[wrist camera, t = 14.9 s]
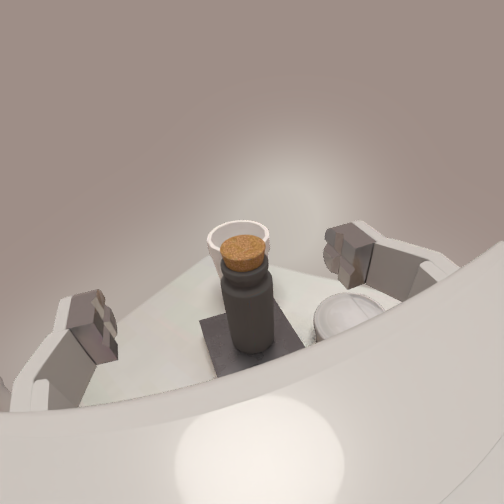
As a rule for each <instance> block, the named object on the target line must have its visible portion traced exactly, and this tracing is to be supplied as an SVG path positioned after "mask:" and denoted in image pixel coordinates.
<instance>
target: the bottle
mask: <svg viewBox="0 0 504 504" xmlns="http://www.w3.org/2000/svg"><path fill="white" fill-rule="evenodd" d="M265 248H266V245H265V242H264V241H263V240H262V239H261V238H259V237H257V236H254V235H237V236H234V237H231V238H229V239H227V240H225V241H224V242H223V243H222V244H221V247H220V253H221V255H222V257H223V258H222V259H221V263H220V266H221V271H222V274H223V276H222V279H221V289H222V295H223V300H224V305H225V310H226V315H227V320H228V324H229V329H230V334H231V338H232V342H233V344H234V346H235V347H236V348H237V349H238V350H240V351H241V352H244V353H248V354H255V353H260V352H263V351H265V350H266V349H268V348H269V347H270V346H271V344H272V343H273V340H274V307H273V283H272V276H271V274H270V272H269V271H268V258H267V255H266V254H265Z"/></svg>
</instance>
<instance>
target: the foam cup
mask: <svg viewBox="0 0 504 504" xmlns="http://www.w3.org/2000/svg"><path fill="white" fill-rule="evenodd" d="M237 235H254V236H257V237H259V238H261V239H262V240H263V241H264V242H265V245H266V248H265V254H266V255H267V258H268V252H269V250H270V245H269V231H268V229H267V228H266V227H265V226H264V225H263V224H261V223H258V222H255V221H250V220H237V221H232V222H227V223H224V224H222V225H219V226H217V227H215V228H214V229H213V230H212V231H211V232H210V233H209V234H208V238H207V244H208V249H209V254H210V255H211V257H212V259H213V261H214V264H215V267H216V270H217V272H218V275H219V278H220V281H221V279H222V276H223V274H222V271H221V266H220V263H221V259H222V258H223V257H222V255H221V253H220V247H221V244H222V243H223V242H224V241H225V240H227V239H229V238H231V237H234V236H237Z"/></svg>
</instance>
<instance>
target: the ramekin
mask: <svg viewBox="0 0 504 504" xmlns="http://www.w3.org/2000/svg"><path fill="white" fill-rule="evenodd" d="M383 312H385V310H384V308H383V307H382V306H381V305H380V304H379V303H378V302H376V301H375V300H373V299H372V298H370V297H367V296H365V295H362V294H358V293H339V294H335V295H332V296H330V297H328V298H326V299H325V300H324V301H323V302H321V303H320V305H319V306H318V307H317V309H316V311H315V314H314V329H315V331H316V339H317V343H318V342H320V341H323V340H325V339H327V338H330V337H332V336H334V335H336V334H339V333H341V332H343V331H345V330H348V329H350V328H352V327H354V326H356V325H358V324H360V323H362V322H365V321H367V320H369V319H371V318H373V317H375V316H377V315H379V314H381V313H383Z"/></svg>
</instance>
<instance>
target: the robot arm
mask: <svg viewBox="0 0 504 504" xmlns="http://www.w3.org/2000/svg"><path fill="white" fill-rule="evenodd" d="M325 240H326V242H327V245H326V246H325V248H324V252H323V258H324V262H325V264H326V266H327V268H328V269H329V270H330V271H331V272H332V273H335V274H338V280H339V281H340V282H341V283H342V284H343V285H344V286H345V287H346V289H347V290H349V289H351V288H354V287H357V286H360V285H362V284H365V283H366V285H368V286H370V287H372V288H374V289H376V290H378V291H381V292H383V293H385V294H387V295H389V296H391V297H393V298H395V299H397V300H399V301H401V302H402V303H400V304H398V305H396V306H394V307H393V308H391V309H389V310H387V311H385V312H383V313H381V314H379V315H377V316H375V317H373V318H371V319H369V320H367V321H365V322H362V323H360V324H358V325H356V326H354V327H352V328H350V329H348V330H345V331H343V332H341V333H339V334H336V335H334V336H332V337H330V338H327V339H325V340H323V341H320V342H318V343H315V344H313V345H310V346H308V347H306V348H303V349H300V350H298V351H295V352H293V353H290V354H288V355H285V356H282V357H280V358H277V359H274V360H271V361H269V362H266V363H263V364H260V365H257V366H254V367H251V368H248V369H245V370H242V371H239V372H236V373H233V374H229V375H226V376H223V377H219V378H216V379H213V380H209V381H206V382H202V383H198V384H195V385H191V386H187V387H183V388H179V389H175V390H171V391H167V392H163V393H158V394H154V395H149V396H144V397H139V398H134V399H129V400H124V401H118V402H112V403H106V404H100V405H93V406H85V407H79V404H80V402H81V400H82V397H83V395H84V393H85V391H86V388H87V386H88V384H89V382H90V380H91V378H92V375H93V373H94V371H95V369H96V367H97V366H96V365H99V364H103V363H108V362H112V361H116V360H118V344H117V343H116V341H115V340H114V339H115V337H116V336H117V325H116V320H115V317H114V315H113V312H112V310H111V309H110V308H109V307H107V306H106V305H105V297H104V295H103V293H102V292H101V290H99V289H97V290H93V291H89V292H85V293H81V294H77V295H74V296H69V297H65V298H62V299H61V300H60V301H59V305H58V310H57V314H56V318H55V323H54V327H53V332H52V333H50V334H48V336H47V337H46V338H45V339H44V341H43V342H42V343H41V345H40V346H39V347H38V348H37V350H36V351H35V352H34V354H33V355H32V357H31V358H30V359H29V361H28V362H27V363H26V365H25V366H24V368H23V369H22V370H21V372H20V373H19V375H18V376H17V377H16V379H15V380H14V382H13V389H12V395H11V393H10V392H9V391H8V389H7V388H6V387H5V386H4V384H3V381H2V379H1V377H0V504H504V241H500V242H498V243H496V244H495V245H493V246H492V247H491V248H489V249H488V250H487V251H485V252H484V253H483V254H481V255H479V256H478V257H477V258H475V259H474V260H472V261H471V262H469V263H468V264H466V265H465V266H463V267H461V268H459V267H458V266H457V265H456V264H455V263H453V262H452V261H451V260H450V259H448V258H447V257H445V256H444V255H443V254H442V253H440V252H436V251H433V250H430V249H427V248H423V247H420V246H417V245H413V244H410V243H406V242H402V241H399V240H396V239H392V238H388V239H387V238H385V237H384V236H383V235H382V234H380V233H379V232H378V231H376V230H375V229H374V228H372V227H371V226H369V225H368V224H366V223H365V222H364V221H362V220H356V221H353V222H350V223H347V224H344V225H340V226H337V227H333V228H329V229H327V230H326V233H325Z"/></svg>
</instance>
